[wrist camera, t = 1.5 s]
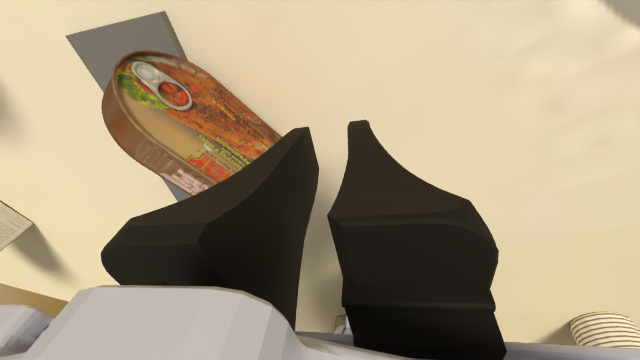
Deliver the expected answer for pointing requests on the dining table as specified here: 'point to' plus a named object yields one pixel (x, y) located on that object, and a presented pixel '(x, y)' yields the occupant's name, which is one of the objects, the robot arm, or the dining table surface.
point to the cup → (605, 330)
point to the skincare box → (11, 225)
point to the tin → (181, 121)
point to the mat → (126, 50)
